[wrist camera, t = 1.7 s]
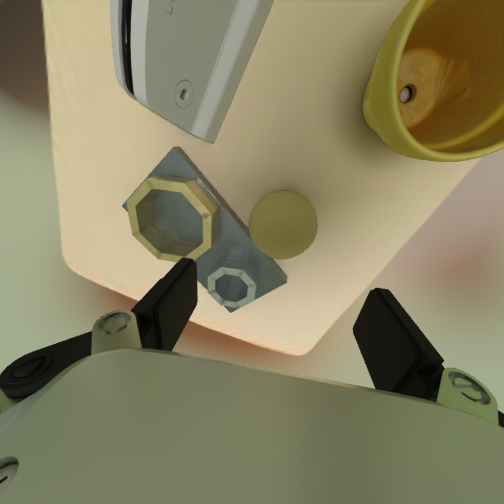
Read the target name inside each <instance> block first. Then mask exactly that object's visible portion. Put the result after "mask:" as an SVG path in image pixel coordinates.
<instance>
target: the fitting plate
mask: <svg viewBox="0 0 504 504" xmlns="http://www.w3.org/2000/svg"><path fill="white" fill-rule="evenodd" d="M122 207H123V208H124V209H125V210H126V211H127V212H128V214H129V219H130V224H131V229H132V235H133V236H134V237H135V238H136V239H137V240H138V241H139V242H140V243H141V244H143V245H144V246H145V247H146V248H147V249H148V250H149V251H150V252H151V253H152V254H153V255H154V256H155V257H156V258H157V259H160V260H166V261H172V262H178V261H179V260H180V259H181V258H182V257H185V258H191V259H193V260H194V262H196V263H197V280H198V281H199V282H200V283H201V284H202V285H203V286H204V287H205V288H206V289H207V290H208V293H209V294H210V295H211V296H212V297H213V298H214V299H215V300H216V301H217V302H218V303H219V304H220V305H223V306H224V307H225V308H226V309H227V310H228V311H229V312H230V313H231V312H233V311H235V310H237V309H239V308H241V307H243V306H245V305H246V304H248V303H250V302H252V301H254V300H255V299H257V298H259V297H261V296H263V295H265V294H267V293H268V292H270V291H272V290H274V289H276V288H278V287H279V286H281V285H283V284H285V283H287V276H286V275H285V273H284V272H283V271H282V270H281V269H280V267H279V266H278V265H277V264H276V263H275V261H274V260H273V259H272V258H271V257H269V256H267V255H265V254H264V253H263V252H262V251H260V250H259V249H258V248H257V246H256V245H255V244H254V242H253V240H252V238H251V236H250V232H249V230H248V229H247V228H246V226H245V225H244V224H243V223H242V222H241V220H240V219H239V218H238V217H237V216H236V214H235V213H234V212H233V211H232V210H231V208H230V207H229V206H228V205H227V204H226V202H225V201H224V200H223V199H222V198H221V196H220V195H219V194H218V193H217V192H216V190H215V189H214V188H213V187H212V185H211V184H210V183H209V182H208V181H207V179H206V178H205V177H204V176H203V175H202V173H201V172H200V171H199V170H198V169H197V167H196V166H195V165H194V164H193V163H192V161H191V160H190V159H189V158H188V157H187V155H186V154H185V153H184V152H183V151H182V149H181V148H180V147H173V148H172V149H171V150H170V152H169V153H168V154H167V155H166V156H165V157H164V158H163V160H162V161H161V162H160V163H159V164H158V165H157V166H156V168H155V169H154V170H153V171H152V172H151V173H150V174H149V176H148V177H147V178H146V179H145V180H144V181H143V182H142V183H141V185H140V186H139V187H138V188H137V189H136V190H135V191H134V193H133V194H132V195H131V196H130V197H129V198H128V199H127V201H126V202H125V203H124V204H123V205H122Z"/></svg>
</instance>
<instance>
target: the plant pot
mask: <svg viewBox="0 0 504 504" xmlns="http://www.w3.org/2000/svg"><path fill="white" fill-rule="evenodd" d="M406 86H409V87H411V88H412V97H411V99H410V100H409V101H408V102H406V103H402V102H401V101H400V99H399V95H400V92H401V90H402V89H403V88H404V87H406ZM363 114H364V118H365V120H366V122H367V124H368V126H369V127H370V128H371V129H372V130H373V131H375V132H376V133H378V135H379V136H380V138H381V139H382V140H383V141H384V142H385V144H386V145H387V146H389V147H390V148H391V149H392V150H394V151H396V152H397V153H399V154H401V155H404V156H407V157H411V158H416V159H421V160H429V161H439V162H458V161H465V160H470V159H475V158H479V157H482V156H485V155H488V154H491V153H493V152H496V151H498V150H501V149H503V148H504V0H410V1H409V2H408V3H407V5H406V6H405V7H404V9H403V10H402V11H401V13H400V14H399V16H398V17H397V19H396V20H395V21H394V23H393V25H392V26H391V28H390V30H389V31H388V33H387V35H386V37H385V39H384V41H383V43H382V45H381V47H380V50H379V52H378V55H377V57H376V60H375V64H374V67H373V71H372V75H371V78H370V80H369V82H368V84H367V86H366V89H365V93H364V97H363Z"/></svg>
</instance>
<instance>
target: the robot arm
mask: <svg viewBox="0 0 504 504" xmlns="http://www.w3.org/2000/svg"><path fill="white" fill-rule="evenodd" d="M197 301H198V297H197V263H196V262H194V260H193V259H191V258H185V257H182V258H181V259H180V260H179V261H178V262H177V263H176V264H175V265H174V267H173V268H172V269H171V270H170V271H169V272H168V273H167V274H166V275H165V276H164V277H163V278H161V279H160V280H159V281H158V282H157V283H156V284H155V285H154V286H153V287H152V288H151V289H150V290H149V291H148V293H147V294H146V295H145V296H144V297H143V298H142V299H141V300H140V301H139V302H138V303H137V304H136V305H135V306H134V308H133V309H132V310H131V311H129V310H116V311H112V312H110V313H107V314H106V315H104V316H102V317H100V318H99V319H98V320H97V321H96V322H95V324H94V325H93V329H92V331H91V332H88V333H85V334H82V335H79V336H76V337H73V338H70V339H68V340H65V341H62V342H59V343H56V344H53V345H50V346H48V347H45V348H42V349H39V350H36V351H33V352H31V353H28V354H26V355H24V356H22V357H21V358H19V359H17V360H15V361H14V362H13V363H11V364H10V365H9V366H7V367H6V369H5V370H4V371H3V372H2V373H1V374H0V504H504V414H503V413H501V412H500V411H498V407H497V402H496V399H495V398H494V396H493V394H492V393H491V392H490V391H489V390H488V389H487V388H486V387H485V386H484V385H483V384H482V383H481V382H480V381H478V380H477V379H475V378H474V377H472V376H471V375H470V374H468V373H466V372H464V371H462V370H458V369H456V368H446V369H445V368H444V367H443V366H442V363H443V362H444V359H443V358H442V357H441V356H440V354H439V353H438V352H437V351H436V349H435V348H434V347H433V346H432V344H431V343H430V342H429V340H428V339H427V338H426V337H425V335H424V334H423V333H422V331H421V330H420V329H419V327H418V326H417V325H416V324H415V322H414V321H413V320H412V319H411V317H410V316H409V315H408V313H407V312H406V311H405V310H404V308H403V307H402V306H401V305H400V303H399V302H398V301H397V299H396V298H395V297H394V295H393V294H392V293H391V292H390V291H389V290H388V289H382V288H375V289H374V290H371V291H370V292H369V294H368V296H367V299H366V301H365V303H364V305H363V307H362V309H361V311H360V314H359V315H358V318H357V320H356V322H355V324H354V326H353V334H354V336H355V339H356V341H357V344H358V346H359V349H360V351H361V354H362V356H363V359H364V361H365V364H366V366H367V369H368V371H369V374H370V376H371V379H372V381H373V384H374V386H375V389H373V388H368V387H363V386H357V385H352V384H347V383H342V382H337V381H331V380H327V379H321V378H316V377H311V376H305V375H300V374H295V373H290V372H284V371H279V370H274V369H268V368H263V367H257V366H252V365H246V364H241V363H236V362H230V361H225V360H219V359H213V358H208V357H202V356H196V355H190V354H184V353H177V352H172V349H173V348H174V346H175V344H176V342H177V340H178V339H179V337H180V335H181V333H182V331H183V329H184V328H185V326H186V324H187V322H188V320H189V318H190V316H191V315H192V313H193V311H194V309H195V307H196V305H197Z"/></svg>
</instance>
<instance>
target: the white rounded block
mask: <svg viewBox="0 0 504 504" xmlns="http://www.w3.org/2000/svg"><path fill="white" fill-rule="evenodd" d="M273 1H274V0H110V18H111V38H112V48H113V58H114V65H115V71H116V77H117V80H118V82H119V84H120V85H121V86H122V88H123V89H124V90H125V91H126V93H127V94H128V95H129V96H130V97H131V98H133V99H134V100H136V101H138V102H139V103H140V104H141V105H142V106H144V107H146V108H147V109H149V110H150V111H152V112H154V113H155V114H157V115H159V116H160V117H162V118H164V119H165V120H167V121H169V122H171V123H172V124H174V125H176V126H177V127H179V128H181V129H183V130H184V131H186V132H188V133H189V134H192V135H194V136H196V137H198V138H200V139H203V140H205V141H208V142H211V143H214V142H215V139H216V137H217V135H218V132H219V130H220V127H221V125H222V123H223V120H224V118H225V116H226V113H227V111H228V108H229V106H230V104H231V101H232V99H233V96H234V94H235V92H236V89H237V87H238V85H239V82H240V80H241V77H242V75H243V73H244V70H245V68H246V65H247V63H248V61H249V58H250V56H251V54H252V51H253V49H254V46H255V44H256V42H257V39H258V37H259V34H260V32H261V30H262V27H263V25H264V23H265V20H266V18H267V15H268V13H269V11H270V8H271V6H272V3H273Z"/></svg>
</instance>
